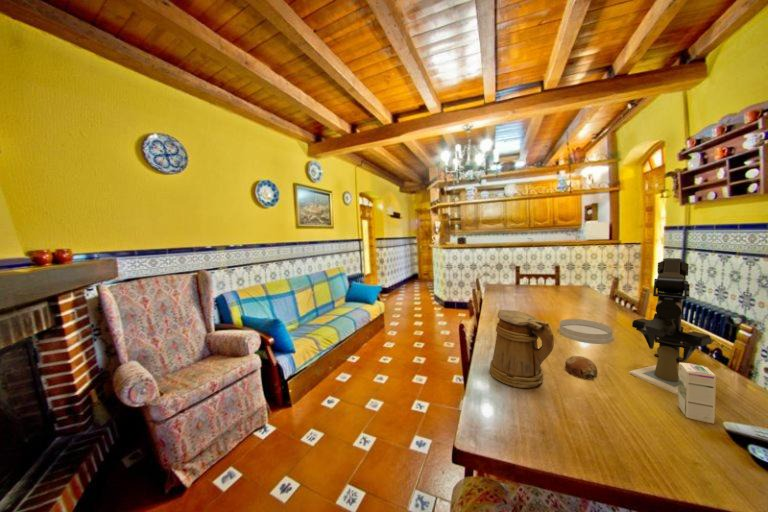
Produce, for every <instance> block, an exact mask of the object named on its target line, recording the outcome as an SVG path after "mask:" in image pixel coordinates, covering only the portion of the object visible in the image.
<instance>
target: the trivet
mask: <svg viewBox="0 0 768 512" xmlns="http://www.w3.org/2000/svg"><path fill="white" fill-rule="evenodd" d="M656 365H657V364H653V365H650V366H645V367H641V368H637V369H633V370H630V371H628V372H629V375H631V376H633V377H635V378H638V379H640V380H642V381H645V382H646V383H647V382H648V383H650V384H652V385H654V386H656V387H658V388H660V389H662V390H666V391H667V392H669V393H672V394H674V395H677V396H678V382H670V381H666V380H662V379H660V378H658V377H656V376H655V375H654V373H655V369H656ZM678 376H679V372H678Z"/></svg>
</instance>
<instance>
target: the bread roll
mask: <svg viewBox="0 0 768 512" xmlns="http://www.w3.org/2000/svg"><path fill="white" fill-rule="evenodd" d="M564 367H565V369H566V371H567V372H568V373H569V374H570V375H572V376H574V377H576V378H580V379H584V380H585V379H586V380H590V379H591V380H593V378H596V377H597V376H598V369H597V365H596V364H595V362H594V361H592V360H591V359H589V358H587V357H585V356H582V355H572V356H570V357H568V358H567V359H566V361H565V364H564Z"/></svg>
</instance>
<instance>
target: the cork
mask: <svg viewBox="0 0 768 512" xmlns="http://www.w3.org/2000/svg"><path fill="white" fill-rule="evenodd" d="M656 354H658V355H659V357H657V361H656V364H655V365H656V369H655V373H654V375H655V376H656V377H658V378H660V379H662V380H666V381H670V382H678V380H679V376H678V373H679V368H678V362H676V358H678V355H679V354H678V352H677V350H675V349H673V348H670V347H666V346H661V347H657V348H656Z"/></svg>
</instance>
